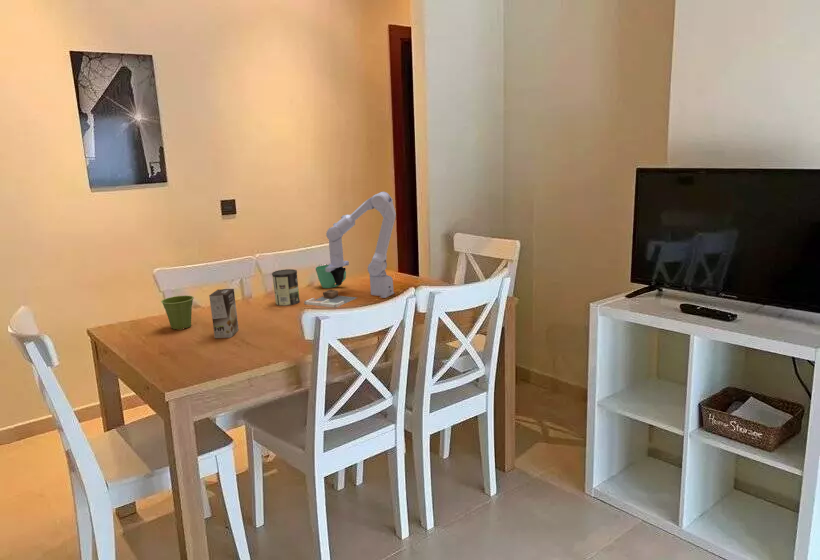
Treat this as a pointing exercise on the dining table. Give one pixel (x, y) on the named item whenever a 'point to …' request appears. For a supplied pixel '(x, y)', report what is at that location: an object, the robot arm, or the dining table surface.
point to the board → (329, 301)
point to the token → (330, 294)
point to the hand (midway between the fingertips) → (338, 284)
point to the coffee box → (224, 313)
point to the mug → (327, 277)
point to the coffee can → (286, 287)
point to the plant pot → (179, 311)
